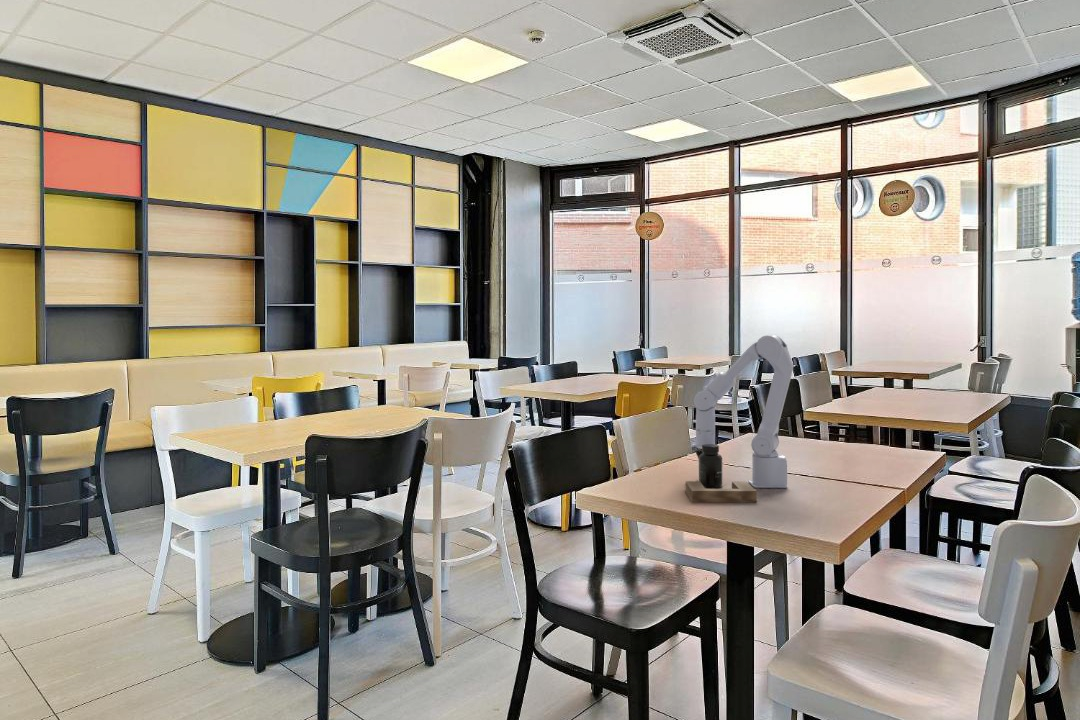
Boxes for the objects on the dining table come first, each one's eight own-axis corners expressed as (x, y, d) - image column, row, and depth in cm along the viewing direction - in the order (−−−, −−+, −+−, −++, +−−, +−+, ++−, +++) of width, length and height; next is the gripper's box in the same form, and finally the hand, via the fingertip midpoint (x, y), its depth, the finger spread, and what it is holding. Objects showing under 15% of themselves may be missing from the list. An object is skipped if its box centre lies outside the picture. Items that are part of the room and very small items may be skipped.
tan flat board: (746, 492, 197) (746, 481, 197) (756, 502, 186) (756, 491, 185) (685, 491, 198) (685, 481, 198) (692, 501, 187) (692, 490, 186)
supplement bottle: (723, 488, 201) (723, 447, 200) (699, 488, 202) (698, 447, 202) (721, 483, 208) (721, 443, 207) (698, 482, 209) (697, 443, 208)
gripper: (688, 426, 220) (688, 469, 221) (696, 433, 206) (696, 479, 206) (711, 426, 220) (710, 469, 220) (720, 433, 205) (720, 479, 206)
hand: (705, 474), depth 213 cm, fingers closed
